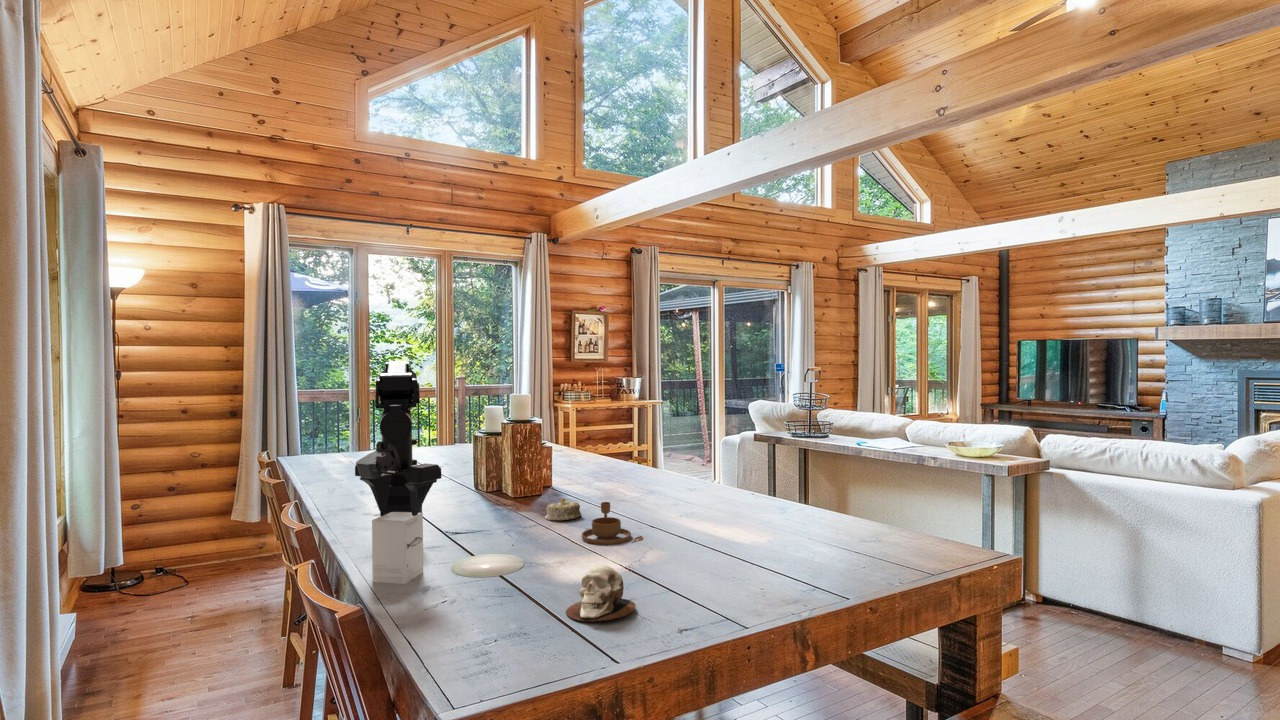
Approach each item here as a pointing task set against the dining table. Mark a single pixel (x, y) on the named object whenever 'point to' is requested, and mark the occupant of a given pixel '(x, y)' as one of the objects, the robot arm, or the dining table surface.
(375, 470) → the robot arm
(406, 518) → the supplement box
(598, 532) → the place setting
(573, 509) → the cake
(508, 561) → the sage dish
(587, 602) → the skull
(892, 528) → the dining table surface
